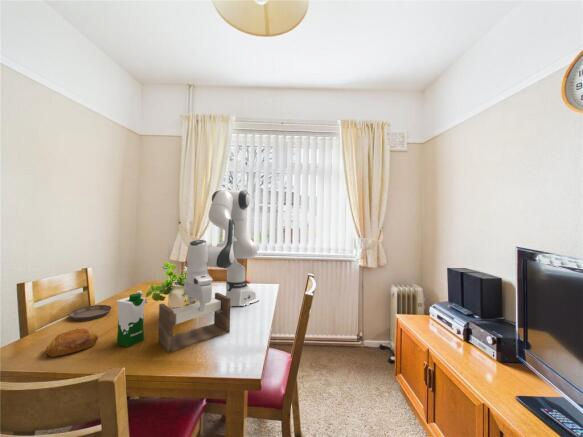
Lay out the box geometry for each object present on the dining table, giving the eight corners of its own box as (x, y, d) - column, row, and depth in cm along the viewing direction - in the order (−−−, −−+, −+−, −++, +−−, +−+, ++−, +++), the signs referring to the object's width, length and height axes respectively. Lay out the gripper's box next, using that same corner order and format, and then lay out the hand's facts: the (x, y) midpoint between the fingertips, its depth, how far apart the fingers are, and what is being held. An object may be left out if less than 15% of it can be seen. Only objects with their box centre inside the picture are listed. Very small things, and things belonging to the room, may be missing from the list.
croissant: (97, 354, 101) (101, 333, 102) (43, 362, 91) (48, 339, 91) (93, 340, 112) (97, 321, 112) (44, 346, 101) (49, 325, 102)
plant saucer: (119, 312, 140) (119, 307, 140) (84, 325, 123) (84, 318, 123) (96, 308, 145) (96, 303, 145) (60, 319, 128) (60, 313, 128)
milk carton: (127, 348, 101) (129, 298, 101) (112, 344, 104) (113, 295, 105) (147, 339, 109) (148, 292, 109) (132, 335, 113) (133, 290, 113)
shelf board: (212, 306, 123) (212, 298, 123) (220, 309, 120) (220, 300, 120) (168, 320, 105) (168, 310, 105) (176, 324, 102) (176, 314, 102)
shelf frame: (216, 324, 126) (217, 292, 126) (229, 332, 118) (230, 298, 118) (158, 342, 107) (159, 304, 107) (168, 353, 99) (169, 311, 99)
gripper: (180, 274, 118) (180, 303, 118) (200, 282, 103) (199, 316, 103) (194, 272, 122) (193, 301, 122) (214, 280, 108) (213, 312, 108)
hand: (196, 308), depth 113 cm, fingers open, 8 cm apart
